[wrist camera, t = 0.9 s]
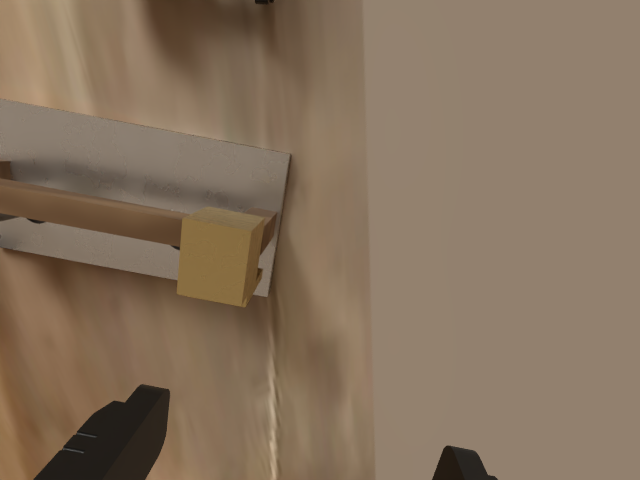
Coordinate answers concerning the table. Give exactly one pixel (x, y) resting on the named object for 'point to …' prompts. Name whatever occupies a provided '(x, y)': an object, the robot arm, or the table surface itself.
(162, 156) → the bolt plate
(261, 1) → the valve
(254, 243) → the sliding head
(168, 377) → the table surface
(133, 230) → the bar
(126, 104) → the table surface
